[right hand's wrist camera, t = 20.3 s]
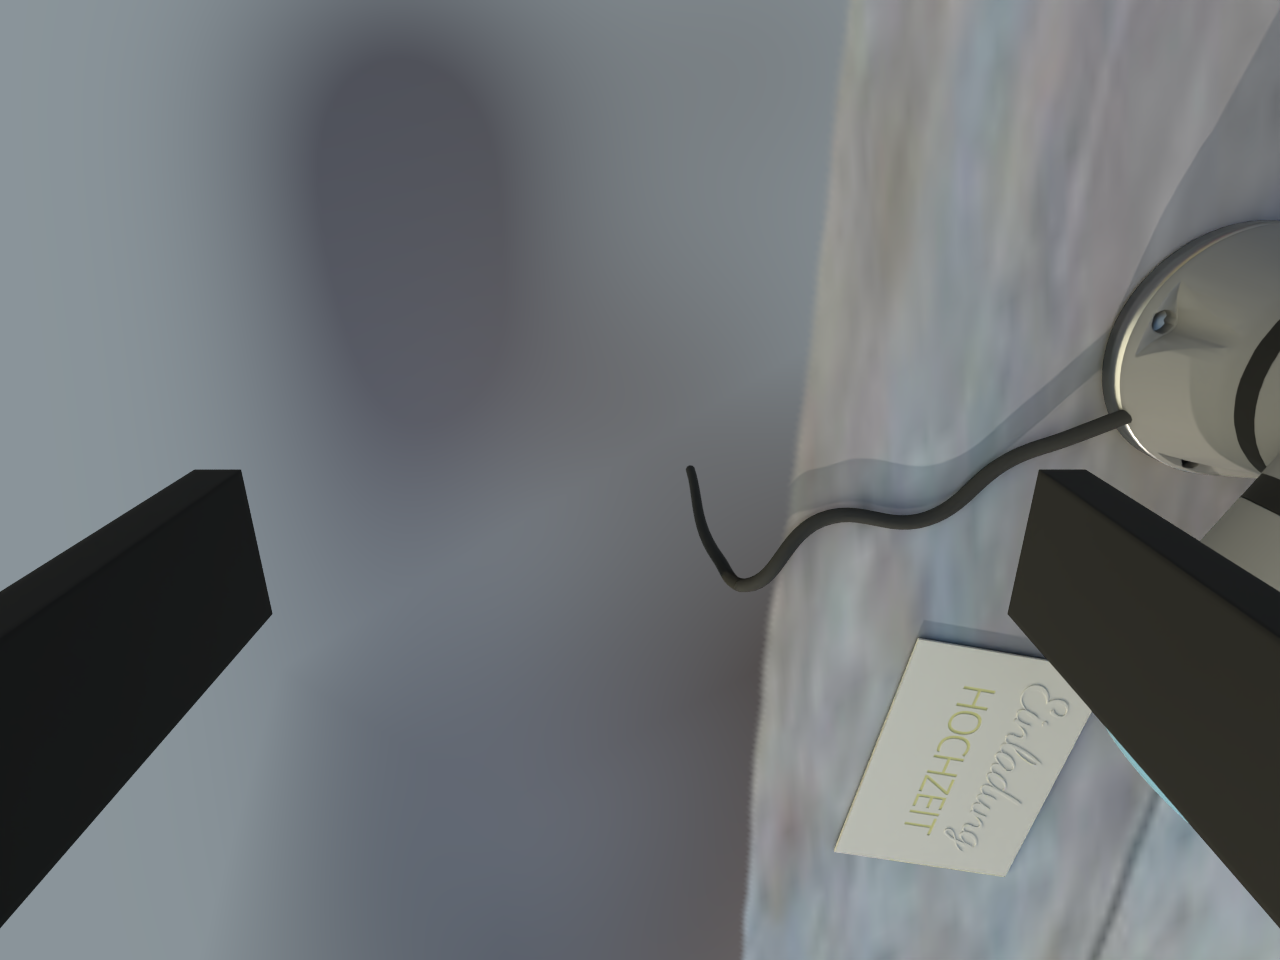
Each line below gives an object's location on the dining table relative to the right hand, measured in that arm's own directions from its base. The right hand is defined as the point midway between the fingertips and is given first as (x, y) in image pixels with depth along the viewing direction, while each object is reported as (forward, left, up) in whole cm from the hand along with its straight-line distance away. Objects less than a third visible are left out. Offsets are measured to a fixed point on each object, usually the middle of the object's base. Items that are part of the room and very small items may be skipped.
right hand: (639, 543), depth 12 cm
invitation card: (+7, -44, -34) cm, 56 cm away
